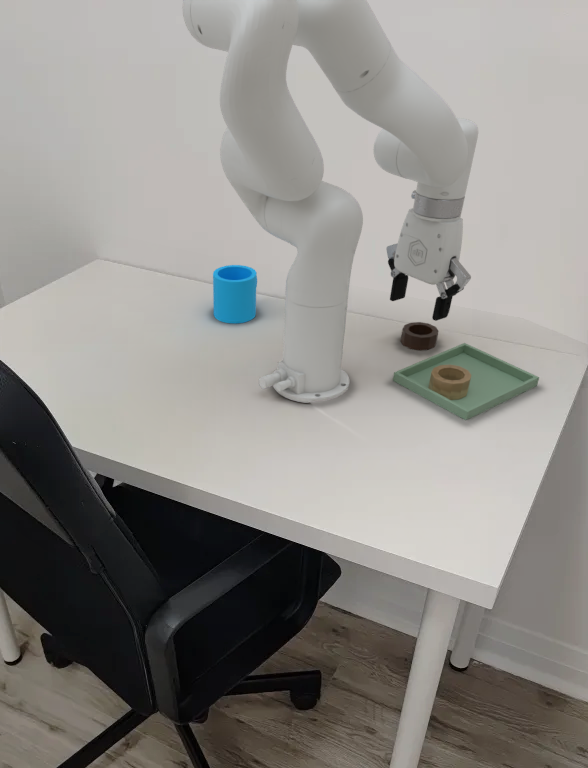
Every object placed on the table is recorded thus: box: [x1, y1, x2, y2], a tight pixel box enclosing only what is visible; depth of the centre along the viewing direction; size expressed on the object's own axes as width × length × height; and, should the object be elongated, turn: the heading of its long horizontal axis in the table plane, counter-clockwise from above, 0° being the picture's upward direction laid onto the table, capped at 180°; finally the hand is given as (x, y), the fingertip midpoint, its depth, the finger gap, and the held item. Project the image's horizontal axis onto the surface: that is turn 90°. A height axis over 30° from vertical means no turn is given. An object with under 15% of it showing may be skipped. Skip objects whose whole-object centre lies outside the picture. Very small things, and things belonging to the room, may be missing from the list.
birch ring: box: [429, 365, 471, 400], centre depth 123 cm, size 6×6×3 cm
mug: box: [212, 264, 258, 324], centre depth 147 cm, size 12×8×8 cm
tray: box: [392, 342, 540, 421], centre depth 125 cm, size 17×15×2 cm
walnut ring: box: [400, 321, 439, 351], centre depth 136 cm, size 6×6×3 cm
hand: (417, 308), depth 132 cm, fingers open, 9 cm apart
